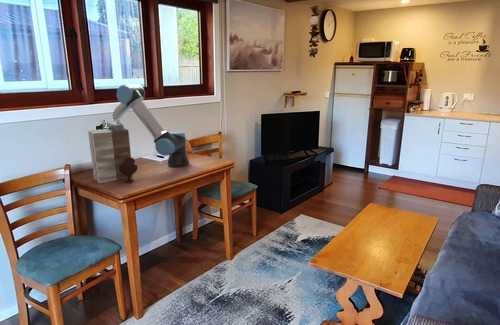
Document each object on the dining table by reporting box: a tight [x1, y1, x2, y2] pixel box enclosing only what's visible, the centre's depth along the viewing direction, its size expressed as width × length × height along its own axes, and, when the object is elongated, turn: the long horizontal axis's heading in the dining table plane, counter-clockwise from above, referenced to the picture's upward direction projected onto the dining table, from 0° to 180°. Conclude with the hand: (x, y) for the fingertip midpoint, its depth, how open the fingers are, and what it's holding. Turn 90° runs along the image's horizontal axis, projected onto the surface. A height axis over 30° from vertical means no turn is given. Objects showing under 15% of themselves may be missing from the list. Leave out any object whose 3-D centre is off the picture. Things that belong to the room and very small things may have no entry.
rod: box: [107, 122, 125, 131], centre depth 213 cm, size 20×5×3 cm, turn 38°
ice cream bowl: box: [119, 156, 138, 184], centre depth 205 cm, size 11×11×15 cm
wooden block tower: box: [87, 127, 134, 184], centre depth 210 cm, size 12×20×30 cm, turn 128°
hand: (112, 121), depth 215 cm, fingers open, 8 cm apart
